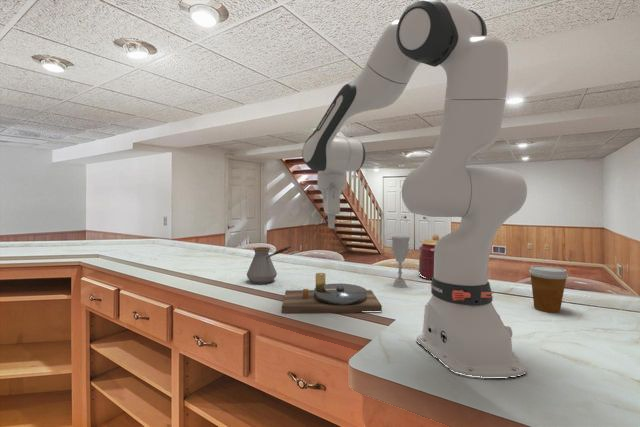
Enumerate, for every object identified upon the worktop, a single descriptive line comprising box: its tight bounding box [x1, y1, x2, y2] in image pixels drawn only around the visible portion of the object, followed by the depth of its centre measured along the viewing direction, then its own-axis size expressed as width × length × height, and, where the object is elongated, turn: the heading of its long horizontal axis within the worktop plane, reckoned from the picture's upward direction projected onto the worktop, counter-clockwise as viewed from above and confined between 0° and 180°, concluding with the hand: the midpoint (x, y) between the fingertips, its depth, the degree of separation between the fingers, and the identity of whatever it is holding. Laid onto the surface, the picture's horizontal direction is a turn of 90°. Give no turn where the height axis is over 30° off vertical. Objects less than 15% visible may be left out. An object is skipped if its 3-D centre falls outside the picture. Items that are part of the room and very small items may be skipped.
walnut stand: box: [281, 288, 383, 314], centre depth 102 cm, size 16×28×4 cm, turn 92°
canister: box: [418, 234, 441, 280], centre depth 137 cm, size 13×13×18 cm
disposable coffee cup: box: [528, 265, 569, 314], centre depth 98 cm, size 10×10×12 cm
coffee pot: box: [246, 245, 294, 285], centre depth 126 cm, size 21×12×15 cm, turn 51°
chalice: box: [390, 235, 411, 288], centre depth 123 cm, size 7×7×18 cm
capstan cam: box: [313, 272, 368, 305], centre depth 102 cm, size 16×16×7 cm
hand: (331, 228), depth 106 cm, fingers closed
